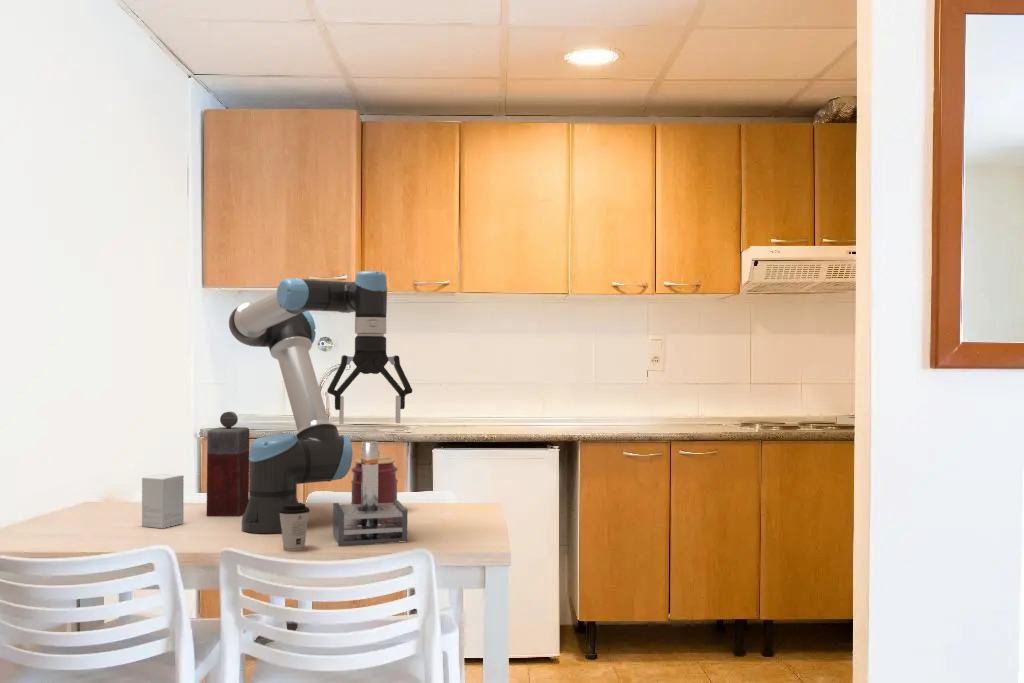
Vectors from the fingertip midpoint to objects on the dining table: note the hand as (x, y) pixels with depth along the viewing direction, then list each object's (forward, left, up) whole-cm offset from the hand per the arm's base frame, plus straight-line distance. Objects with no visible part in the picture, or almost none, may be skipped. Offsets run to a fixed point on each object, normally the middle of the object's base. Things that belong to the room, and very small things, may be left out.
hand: (369, 423), depth 212 cm
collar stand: (0, 0, -28) cm, 28 cm away
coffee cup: (-18, -7, -28) cm, 34 cm away
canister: (+6, +35, -28) cm, 45 cm away
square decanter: (-33, +43, -28) cm, 61 cm away
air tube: (0, 0, -26) cm, 27 cm away
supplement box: (-49, +29, -28) cm, 63 cm away
